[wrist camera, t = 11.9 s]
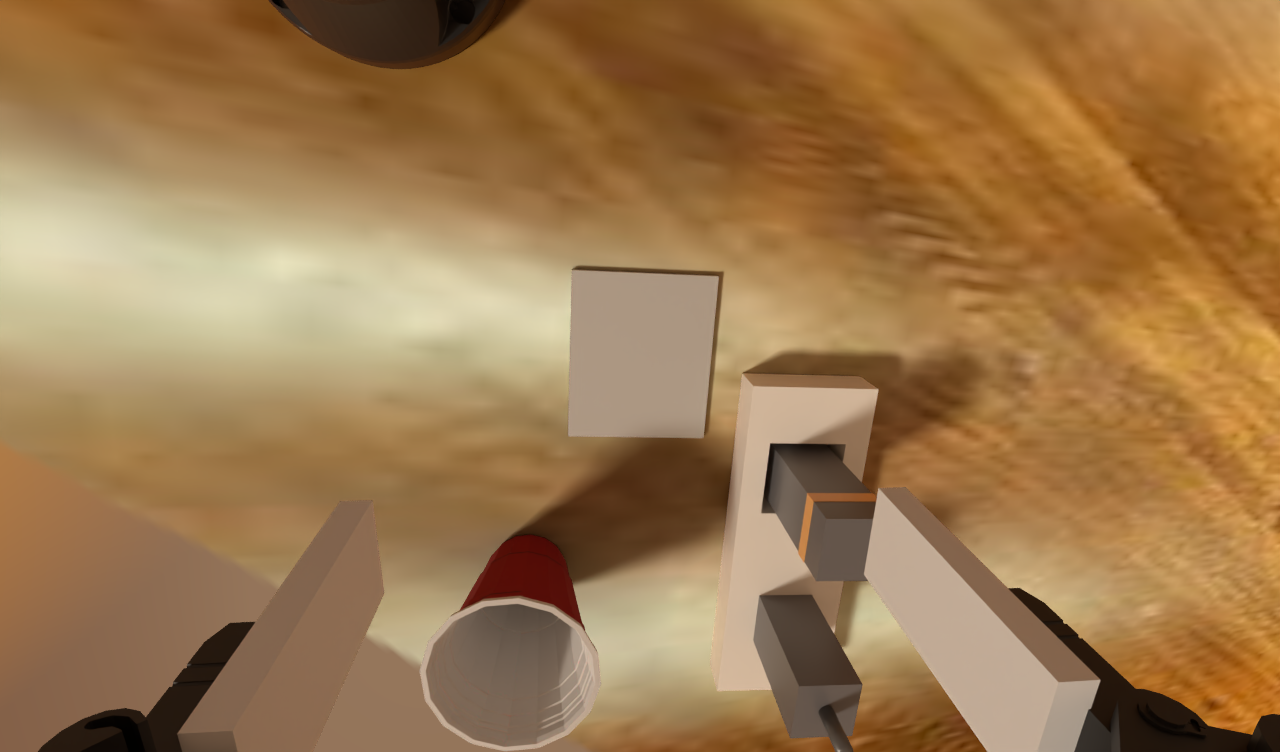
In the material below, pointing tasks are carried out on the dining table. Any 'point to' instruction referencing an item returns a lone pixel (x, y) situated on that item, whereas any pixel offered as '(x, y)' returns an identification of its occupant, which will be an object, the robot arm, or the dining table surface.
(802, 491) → the plug
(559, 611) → the plastic cup
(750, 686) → the socket stand
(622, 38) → the dining table surface
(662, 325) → the white flat slab
